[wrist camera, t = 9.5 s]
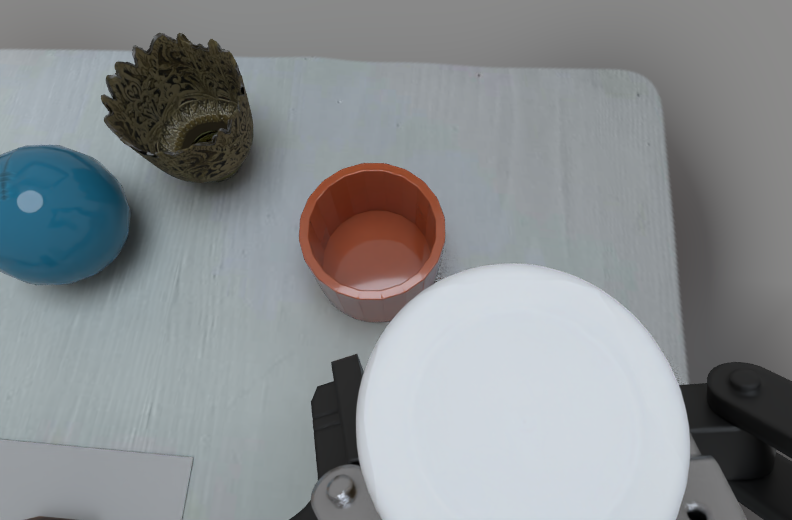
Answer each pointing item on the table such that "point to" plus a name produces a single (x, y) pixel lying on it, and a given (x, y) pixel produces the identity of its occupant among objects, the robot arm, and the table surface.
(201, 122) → the cup
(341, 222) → the pot
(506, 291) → the sprinkles bottle
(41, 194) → the ball
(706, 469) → the robot arm
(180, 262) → the table surface
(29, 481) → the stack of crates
